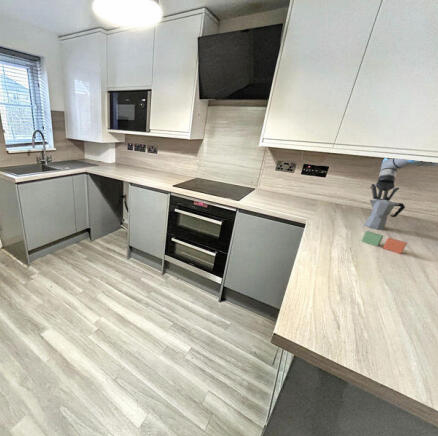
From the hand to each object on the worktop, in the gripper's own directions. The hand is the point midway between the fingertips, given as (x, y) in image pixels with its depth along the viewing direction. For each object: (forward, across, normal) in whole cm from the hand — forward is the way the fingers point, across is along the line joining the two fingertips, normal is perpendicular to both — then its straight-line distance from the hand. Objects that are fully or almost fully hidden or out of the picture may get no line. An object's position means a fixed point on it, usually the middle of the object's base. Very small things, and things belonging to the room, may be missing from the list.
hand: (379, 208), depth 142 cm
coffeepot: (+15, 0, +2) cm, 15 cm away
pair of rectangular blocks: (+39, +2, +27) cm, 47 cm away
